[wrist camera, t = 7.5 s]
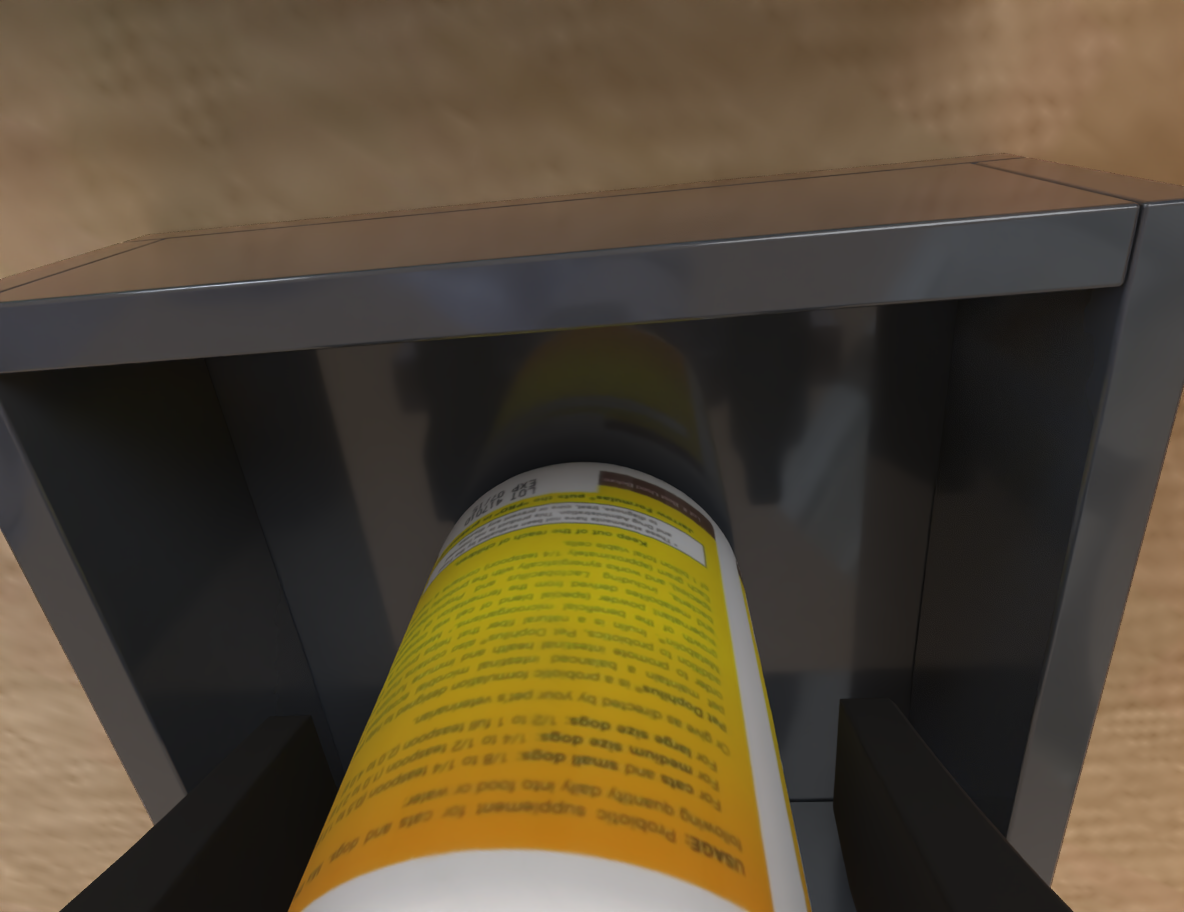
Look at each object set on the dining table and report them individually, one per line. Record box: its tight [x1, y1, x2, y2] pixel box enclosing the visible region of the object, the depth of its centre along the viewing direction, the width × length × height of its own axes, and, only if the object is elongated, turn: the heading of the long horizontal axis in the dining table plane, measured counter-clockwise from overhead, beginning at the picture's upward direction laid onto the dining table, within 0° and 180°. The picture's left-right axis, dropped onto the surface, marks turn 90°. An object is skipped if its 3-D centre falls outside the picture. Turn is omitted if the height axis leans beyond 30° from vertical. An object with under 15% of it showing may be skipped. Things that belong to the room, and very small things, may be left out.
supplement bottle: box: [288, 462, 812, 912], centre depth 9 cm, size 6×6×10 cm
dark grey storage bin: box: [0, 153, 1184, 912], centre depth 13 cm, size 14×14×5 cm
